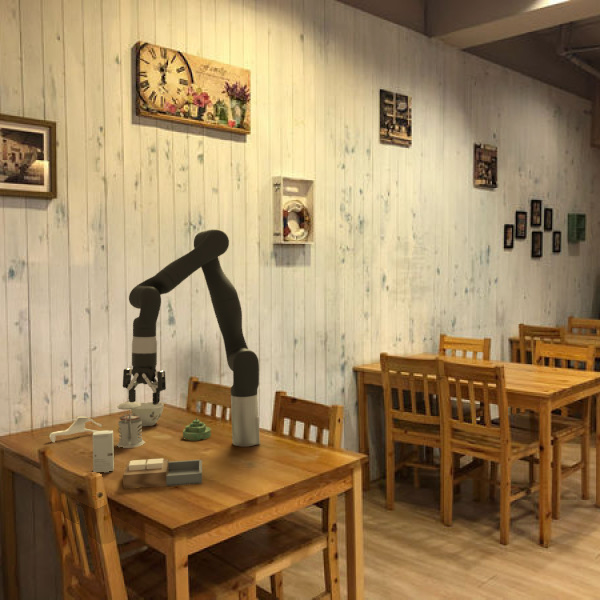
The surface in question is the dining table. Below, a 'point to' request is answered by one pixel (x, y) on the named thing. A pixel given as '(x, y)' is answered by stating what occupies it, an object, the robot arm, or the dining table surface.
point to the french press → (130, 427)
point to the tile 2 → (155, 463)
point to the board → (146, 476)
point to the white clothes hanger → (75, 427)
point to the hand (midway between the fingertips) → (143, 403)
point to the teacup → (148, 413)
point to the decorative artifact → (196, 431)
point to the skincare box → (103, 451)
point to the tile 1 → (137, 465)
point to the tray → (184, 473)
